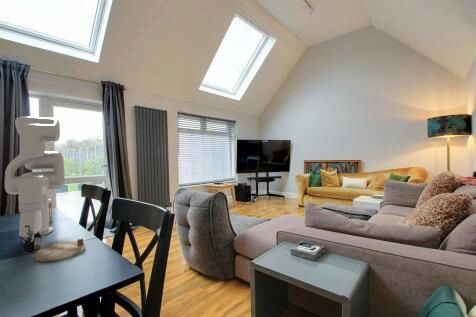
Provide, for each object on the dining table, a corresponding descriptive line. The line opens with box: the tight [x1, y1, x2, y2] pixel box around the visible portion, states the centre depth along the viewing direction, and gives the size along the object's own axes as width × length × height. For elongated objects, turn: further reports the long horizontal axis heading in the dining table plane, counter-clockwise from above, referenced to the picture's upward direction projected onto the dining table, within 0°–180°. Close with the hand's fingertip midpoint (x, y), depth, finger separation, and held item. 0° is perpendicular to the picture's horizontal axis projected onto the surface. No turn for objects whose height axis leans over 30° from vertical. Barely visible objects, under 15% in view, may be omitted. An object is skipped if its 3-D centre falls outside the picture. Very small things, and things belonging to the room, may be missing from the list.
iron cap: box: [31, 237, 42, 253], centre depth 97 cm, size 5×5×5 cm
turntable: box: [34, 238, 86, 262], centre depth 93 cm, size 16×16×4 cm
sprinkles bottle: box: [48, 198, 53, 222], centre depth 137 cm, size 5×5×13 cm
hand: (33, 247), depth 97 cm, fingers open, 7 cm apart
